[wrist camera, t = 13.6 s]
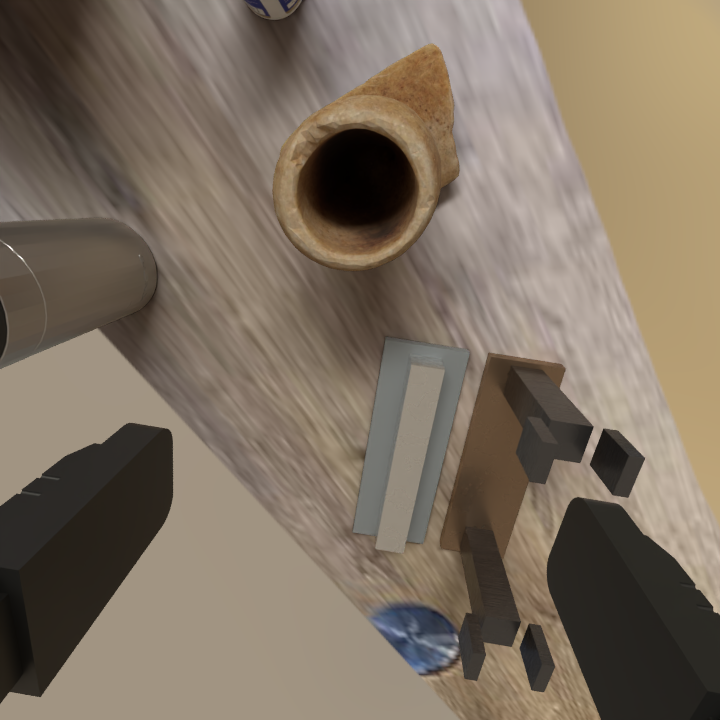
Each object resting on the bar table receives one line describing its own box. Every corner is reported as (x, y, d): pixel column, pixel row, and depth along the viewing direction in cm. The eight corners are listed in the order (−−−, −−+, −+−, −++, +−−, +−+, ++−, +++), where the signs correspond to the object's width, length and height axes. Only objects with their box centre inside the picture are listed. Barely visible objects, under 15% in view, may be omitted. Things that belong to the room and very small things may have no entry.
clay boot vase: (332, 272, 40) (300, 310, 26) (267, 146, 37) (191, 111, 23) (488, 193, 37) (546, 188, 23) (432, 47, 34) (460, -63, 20)
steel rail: (376, 528, 49) (375, 548, 46) (410, 353, 41) (411, 364, 39) (402, 533, 49) (403, 553, 46) (441, 358, 41) (444, 369, 38)
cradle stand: (439, 540, 50) (459, 682, 35) (488, 352, 42) (540, 434, 27) (500, 550, 50) (545, 697, 35) (561, 364, 42) (653, 452, 27)
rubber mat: (353, 526, 50) (352, 532, 49) (385, 336, 42) (385, 339, 41) (422, 537, 50) (423, 543, 49) (467, 349, 42) (469, 352, 41)
